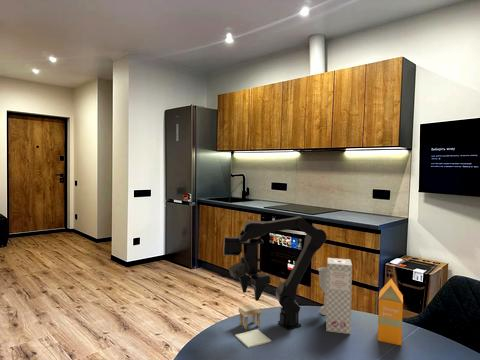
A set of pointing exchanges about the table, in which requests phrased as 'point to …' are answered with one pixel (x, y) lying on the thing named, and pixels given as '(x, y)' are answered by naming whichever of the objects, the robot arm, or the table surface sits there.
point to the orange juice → (390, 314)
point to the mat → (252, 338)
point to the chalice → (323, 287)
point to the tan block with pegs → (249, 314)
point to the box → (339, 295)
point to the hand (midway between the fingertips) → (250, 296)
